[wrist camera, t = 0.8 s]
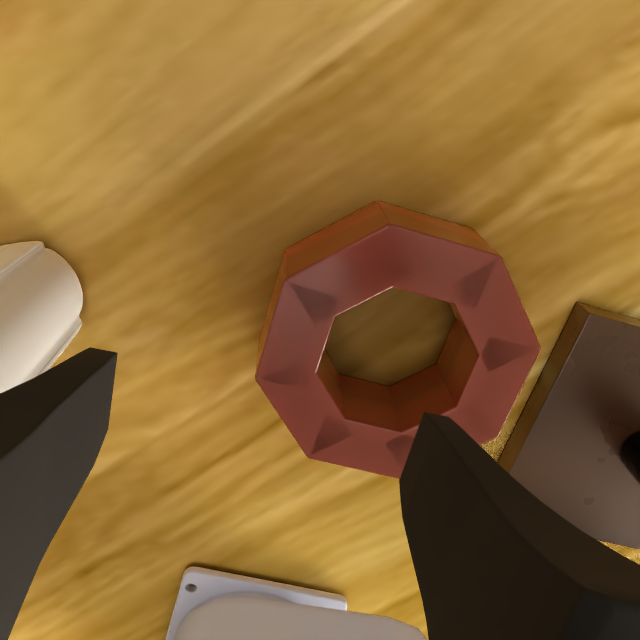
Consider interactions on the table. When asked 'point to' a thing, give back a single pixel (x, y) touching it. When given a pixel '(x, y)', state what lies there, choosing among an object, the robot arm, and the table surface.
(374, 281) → the ring
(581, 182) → the table surface
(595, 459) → the post
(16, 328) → the white wireless mouse
